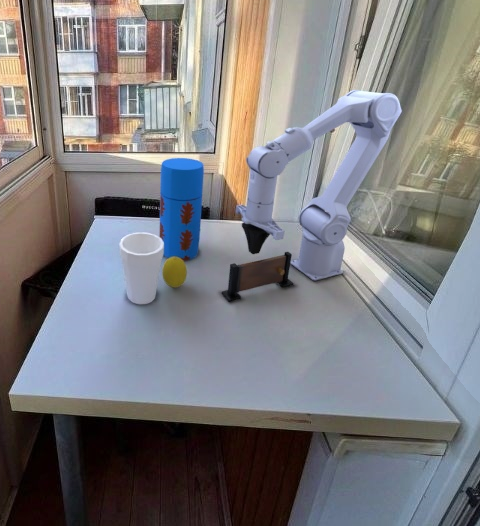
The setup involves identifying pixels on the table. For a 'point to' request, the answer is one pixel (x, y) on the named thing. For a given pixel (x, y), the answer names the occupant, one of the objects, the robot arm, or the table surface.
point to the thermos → (181, 206)
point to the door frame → (231, 293)
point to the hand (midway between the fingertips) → (254, 252)
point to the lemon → (174, 272)
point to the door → (260, 273)
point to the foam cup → (141, 265)
